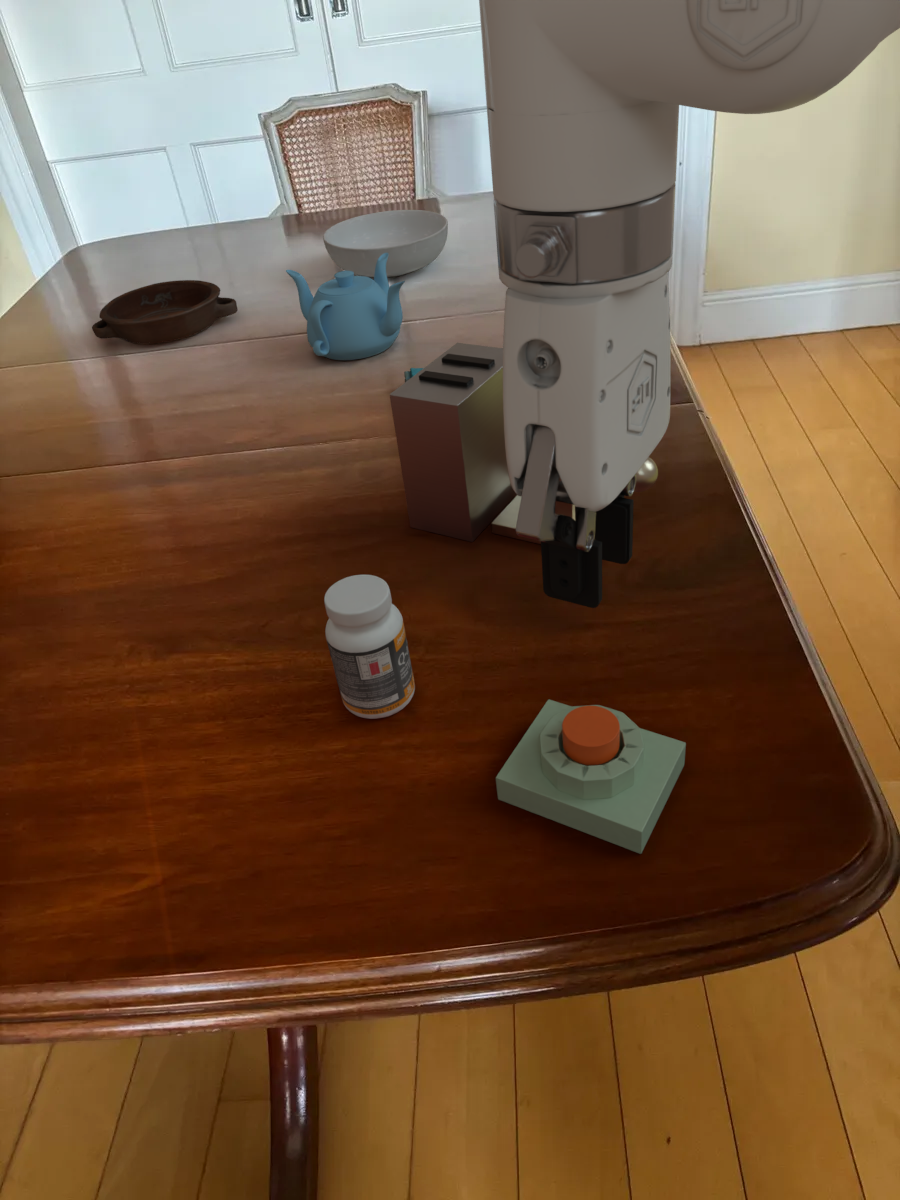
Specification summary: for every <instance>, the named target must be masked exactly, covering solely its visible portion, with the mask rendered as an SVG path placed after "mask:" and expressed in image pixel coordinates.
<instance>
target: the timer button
mask: <svg viewBox="0 0 900 1200" xmlns="http://www.w3.org/2000/svg"><path fill="white" fill-rule="evenodd" d="M582 706H583V707H579V708H576V709H574V710H572V711H571V712H569V713H568V714H567V715H566V717H565V718H564V720H563V723H562V734H563V748H564V751H565V753H566V754H567V755H568V756H569V757H570V758H571V759H572V760H574V761H576V762H578V763H580V764H584V765H600V764H603V763H606V762H608V761H610V760H611V759H612V758H614V757H615V755H616V754H617V752H618V750H619V742H620V725H619V721H618V719H617V718H616V716H615V715H614V714H613V713H612V712H610V711H609V710H607V709H605V708H602V707H598V706H586V705H582Z"/></svg>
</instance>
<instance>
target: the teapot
mask: <svg viewBox="0 0 900 1200" xmlns="http://www.w3.org/2000/svg"><path fill="white" fill-rule="evenodd" d="M388 255H389V254H388V253H384V254H382V255H381V256H380V257H379V258H378V260H377V263H376V267H375V274H374V277H373V278H372V277H365V276H359V275H355V274H354V272H353V271H345V270H341V271H338V272H336V273H334V275H333V276H334V278H332V279H330V280H328V281H325V282H323V283H322V284H320V286H318V287H317V290H316V291H315V294H314V295H313V293H312V292H311V289H310V287H309V284H308V282H307V280H306V279H305V277H304V276H303V275H302V274H301V273H299V272H298V271H296V270H293V269H286V270H285V273H287V275H289V277H290V278H291V279H292V280H293V282H294V284H295V286H296V289H297V293H298V301H299V308H300V311H301V313H302V317H303V318H304V319H305V321H306V337H307V342H308V344H309V345H310V347H311V348H312V351H313V353H314V355H316V356H318V357H324V358H326V359H329V360H335V361H353V360H360V359H366V358H370V357H373V356H376V355H378V354H381V353H383V352H385V351H386V350H389V348H390V347H391V346H392V345H393V344H394V343H395V341H396V339H397V338H398V336H399V334H400V332H401V328H402V327H401V326H402V323H403V318H404V317H403V316H404V315H403V308H402V303H401V300H400V291H401V288H402V286H403V285H404V283H405V282H406V281H405V280H402V281H399V282H395V283H392V284H391V285H390V283H389V280H388V279H389V278H387V274H386V262H387V259H388Z"/></svg>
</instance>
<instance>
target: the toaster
mask: <svg viewBox="0 0 900 1200" xmlns="http://www.w3.org/2000/svg"><path fill="white" fill-rule="evenodd" d="M422 368H423V369H422V370H421V371H420V372H418V373H417V374H416V375H414V376H413V377H412V378H410V379H409V380H408V381H406V382H405V381H404V383H402V384H401V385H400V386H399V387H397V388H396V389H395V390H393V391H392V392H390V394H389V399H390V406H391V413H392V420H393V426H394V431H395V433H394V434H395V439H396V445H397V450H398V451H397V452H398V457H399V463H400V470H401V476H402V481H403V483H402V484H403V489H404V495H405V502H406V508H407V513H408V514H407V515H408V520H409V527H410V528H412V529H416V530H419V531H425V532H429V533H432V534H437V535H442V536H444V537H450V538H453V539H458V540H463V541H466V542H470V543H473V542H474V541H475V540H476V539H477V538H478V537H479V536H480V535H481V534H482V533H483V531H485V529H486V528H487V527H488V526H489V525H490V524H492V522H493V521H494V520H495V519H496V518H497V517H498V515H499V514H500V513H501V512H502V511H503V510H504V509H505V508H506V507H507V506H508V505H509V504H510V502H511V501H512V500H513V499H514V498H515V497H516V496H517V494H516V493H515V491H514V490H513V488H512V486H511V483H510V479H509V474H508V467H507V460H506V450H505V436H504V416H503V347H497V346H488V345H487V346H486V345H481V344H480V345H479V344H471V343H463V342H456V343H454V344H453V345H452V346H451V347H449V348H448V349H446V350H445V352H443V353H442V354H440V355H439V356H437V358H435V359H434V360H432V361H431V362H430V363H429V364H427V365H425V366H424V367H422Z"/></svg>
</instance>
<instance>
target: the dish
mask: <svg viewBox="0 0 900 1200" xmlns="http://www.w3.org/2000/svg"><path fill="white" fill-rule="evenodd" d="M220 294H221V288H220V287H219V286H218V285H217V284H215V283H213V282H210V281H204V280H197V279H196V280H195V279H182V280H181V279H180V280H169V281H162V282H156V283H152V284H149V285H144V286H141V287H138V288H135V289H132V290H129V291H127V292H124V293H122V294H120V295H118V296H116V297H115V298H112V299H111V300H110V301H109V302H108V303H107V304H105V305H104V306H103V307H102V309H101V310H100V312H99V315H98V316H99V319H100V320H98V321H97V322H94V324H93V325H92V326H91V329H92V332H93V334H94V336H95V337H96V338H98V339H101V340H104V339H105V340H107V339H119V340H120V339H121V340H124V341H125V342H128V343H132V344H138V345H139V344H141V345H142V344H143V345H152V344H154V345H155V344H163V343H169V342H173V341H177V340H180V339H185V338H187V337H191V336H193V335H196V334H198V333H201V332H202V331H204V330H206V329H208V328H209V327H210V326H212V325H213V324H214V323H215V322H216V320H218V319H220V318H225V317H229V316H233V315H235V314H236V313H237V312H238V306H237V300H236V299H235V298H231V297H222V296H221V297H220Z"/></svg>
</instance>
